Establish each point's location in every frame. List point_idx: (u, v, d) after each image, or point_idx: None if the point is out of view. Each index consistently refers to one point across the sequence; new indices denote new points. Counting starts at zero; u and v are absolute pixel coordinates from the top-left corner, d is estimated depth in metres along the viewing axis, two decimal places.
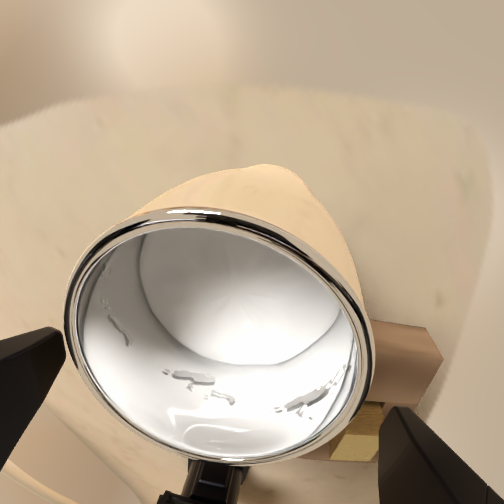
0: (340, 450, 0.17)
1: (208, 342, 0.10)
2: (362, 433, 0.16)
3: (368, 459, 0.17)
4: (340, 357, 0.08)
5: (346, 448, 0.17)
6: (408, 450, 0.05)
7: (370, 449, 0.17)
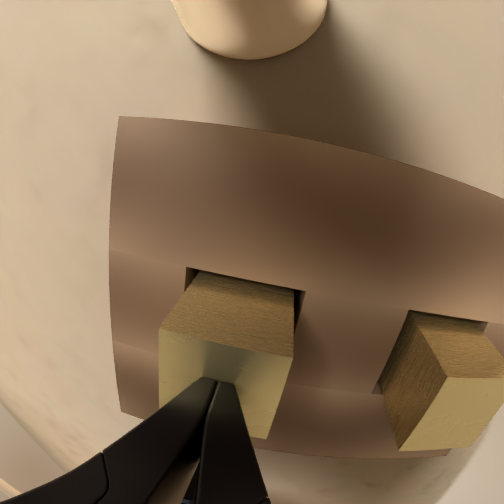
0: (425, 427, 0.07)
1: None
2: (477, 374, 0.06)
3: (469, 442, 0.07)
4: None
5: (440, 419, 0.07)
6: (203, 427, 0.05)
7: (481, 417, 0.07)
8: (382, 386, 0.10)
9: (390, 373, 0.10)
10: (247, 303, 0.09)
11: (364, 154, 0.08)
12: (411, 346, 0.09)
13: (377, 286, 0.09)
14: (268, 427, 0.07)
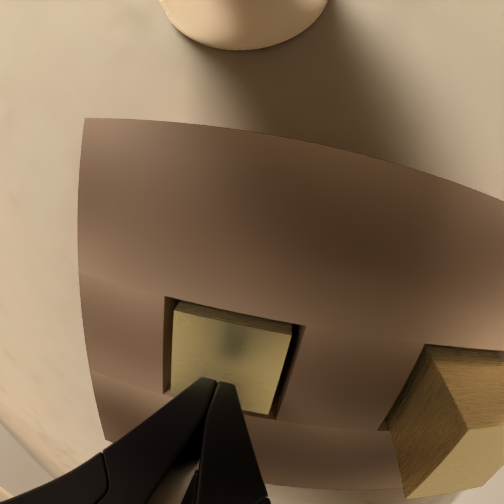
0: (437, 476, 0.05)
1: None
2: (499, 421, 0.05)
3: (482, 482, 0.05)
4: None
5: (454, 468, 0.05)
6: None
7: (497, 460, 0.05)
8: (390, 423, 0.08)
9: (399, 410, 0.08)
10: None
11: (380, 162, 0.06)
12: (425, 384, 0.07)
13: (390, 319, 0.07)
14: (270, 402, 0.08)
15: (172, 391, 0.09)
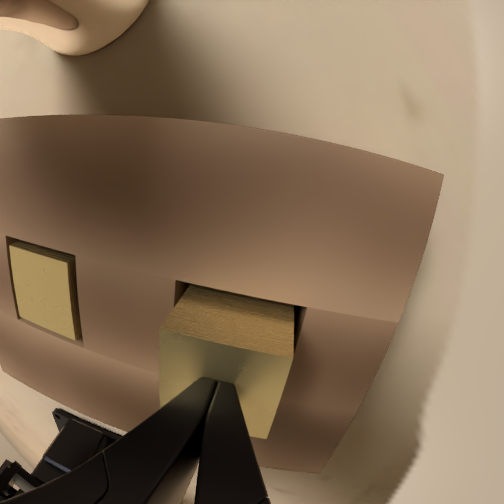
0: (172, 390, 0.07)
1: None
2: (211, 337, 0.07)
3: (260, 432, 0.07)
4: None
5: (184, 385, 0.07)
6: None
7: (254, 400, 0.07)
8: None
9: None
10: None
11: (102, 116, 0.07)
12: None
13: (132, 251, 0.08)
14: (72, 328, 0.10)
15: (20, 315, 0.10)
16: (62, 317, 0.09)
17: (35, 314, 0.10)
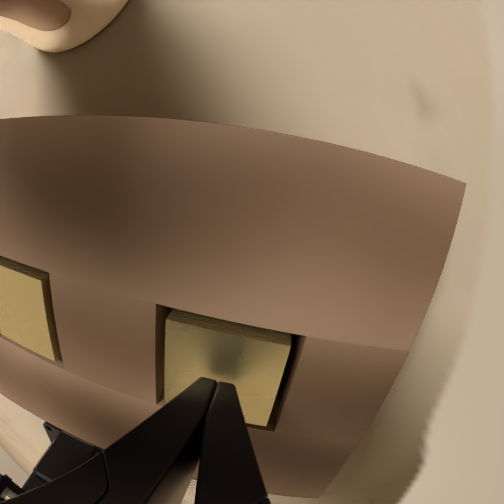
0: (176, 379, 0.08)
1: None
2: (214, 326, 0.07)
3: (260, 420, 0.08)
4: None
5: (189, 373, 0.08)
6: (203, 427, 0.05)
7: (254, 388, 0.08)
8: None
9: None
10: None
11: (72, 117, 0.06)
12: None
13: (108, 270, 0.07)
14: (51, 348, 0.08)
15: (0, 332, 0.09)
16: (40, 337, 0.08)
17: (14, 332, 0.09)
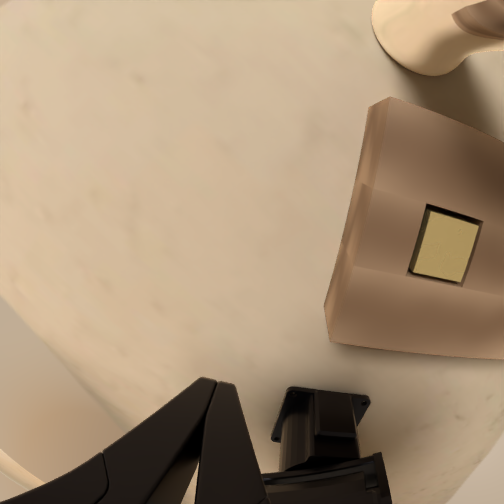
0: None
1: None
2: None
3: None
4: None
5: None
6: (203, 427, 0.05)
7: None
8: None
9: None
10: (442, 211, 0.15)
11: None
12: None
13: None
14: (463, 272, 0.13)
15: (414, 271, 0.14)
16: (459, 265, 0.13)
17: (433, 267, 0.14)
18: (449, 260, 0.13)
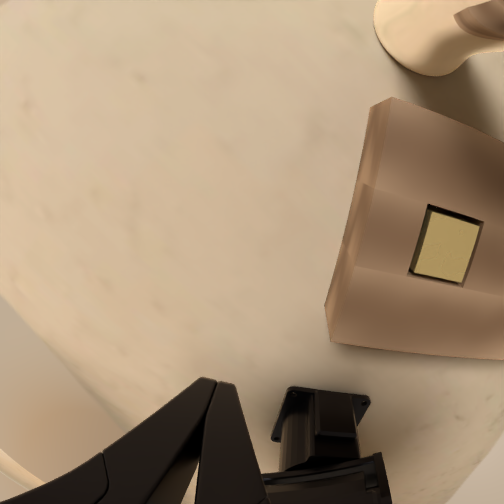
0: None
1: None
2: None
3: None
4: None
5: None
6: None
7: None
8: None
9: None
10: (443, 211, 0.15)
11: None
12: None
13: None
14: (464, 272, 0.13)
15: (415, 271, 0.14)
16: (460, 265, 0.13)
17: (434, 267, 0.14)
18: (450, 260, 0.13)
